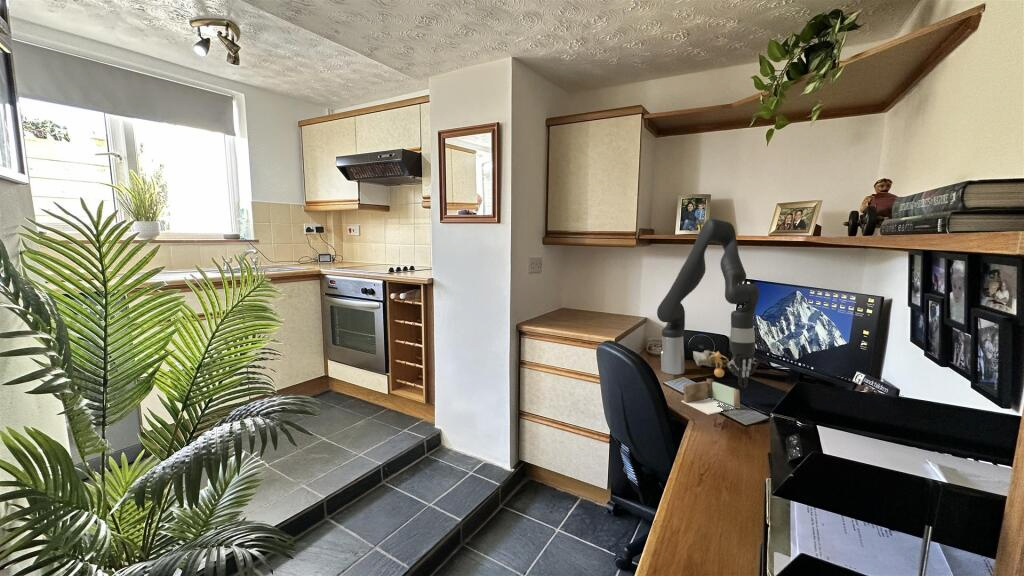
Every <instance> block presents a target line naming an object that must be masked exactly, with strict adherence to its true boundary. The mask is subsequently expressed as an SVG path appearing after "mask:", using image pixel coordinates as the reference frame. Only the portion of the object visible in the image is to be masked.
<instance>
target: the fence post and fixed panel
mask: <svg viewBox="0 0 1024 576" xmlns="http://www.w3.org/2000/svg"><path fill="white" fill-rule="evenodd" d="M712 382H715V381H714V379H713V378H706V381H700V382H694V383H689V384H684V385H683V400H684V402H685V403H688V402H693V401H698V400H703V399H708V398H711V399H712V398H713V391H712ZM685 403H684V404H685Z"/></svg>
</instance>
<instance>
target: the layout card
mask: <svg viewBox="0 0 1024 576" xmlns="http://www.w3.org/2000/svg"><path fill="white" fill-rule="evenodd" d="M703 400H704V399H703ZM703 400H698V401H693V402H688V403H685V402H684V399H682V400H681V403H683V404H685V405H687V406H690V407H691V408H693V409H696V410H698V411H700V412H702V413H703V414H706V415H708V416H709V415H713V414H715V415H716V414H719V413H722V412H721V411H723V409H722V408H720V407H717V406H718V405H719V404H717V403H718V402H720V405H721V404H722V405H723V404H725V405H726V406H729V407H731V408H732V409H733V408H738V409H741V406H740V407H734V406H732V405H730V404H727V403H724V402H722V401H719V400H717V399H713V400H711V399H710V400H711V402H710V401H708V400H707V401H703ZM715 400H716V401H715ZM717 401H718V402H717ZM722 405H721V406H722ZM723 406H724V405H723ZM731 408H730V409H731ZM733 410H734V409H733Z"/></svg>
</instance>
